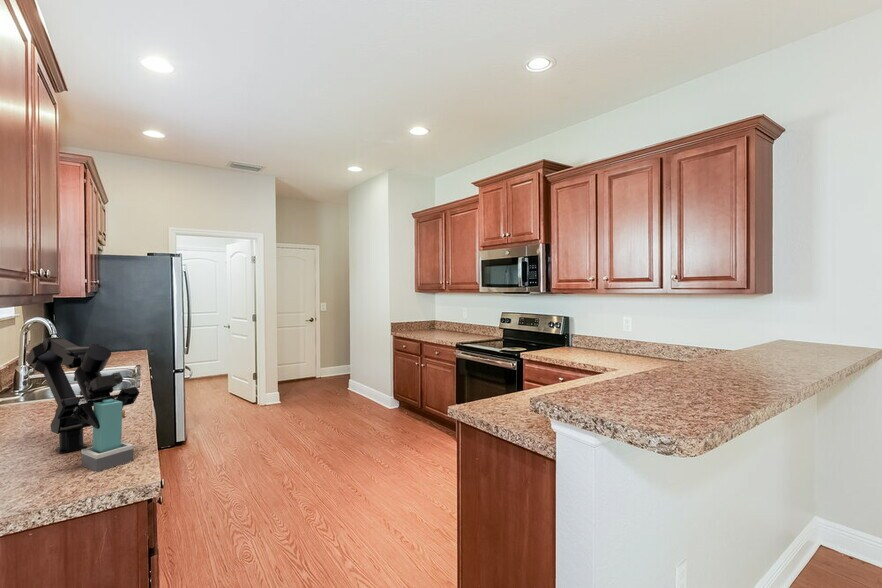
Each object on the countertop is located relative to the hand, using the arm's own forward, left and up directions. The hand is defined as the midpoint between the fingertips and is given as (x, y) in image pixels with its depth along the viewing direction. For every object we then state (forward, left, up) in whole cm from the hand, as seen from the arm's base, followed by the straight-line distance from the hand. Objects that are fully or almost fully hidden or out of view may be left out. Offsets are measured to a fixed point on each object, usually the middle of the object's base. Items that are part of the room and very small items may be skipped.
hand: (109, 425), depth 122 cm
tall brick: (-1, 0, -7) cm, 7 cm away
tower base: (-1, 0, -11) cm, 11 cm away
